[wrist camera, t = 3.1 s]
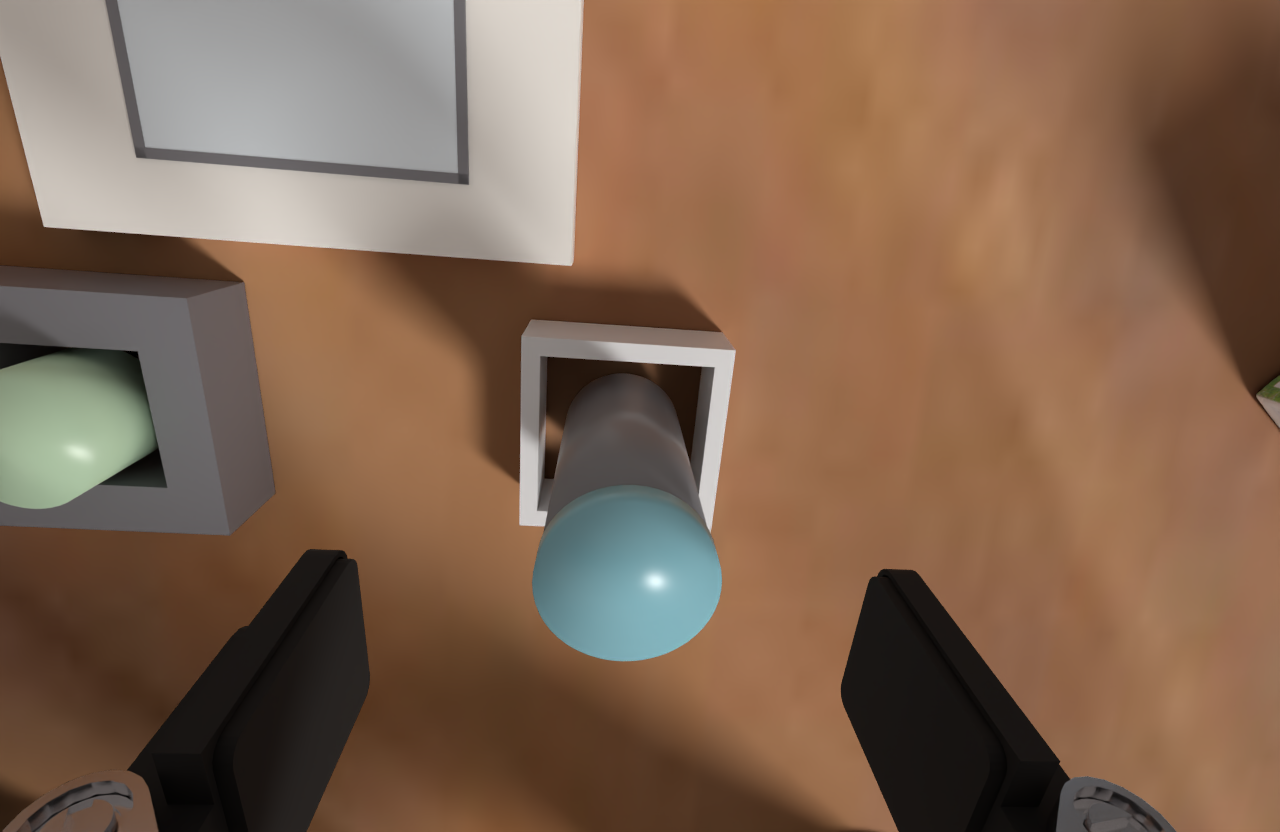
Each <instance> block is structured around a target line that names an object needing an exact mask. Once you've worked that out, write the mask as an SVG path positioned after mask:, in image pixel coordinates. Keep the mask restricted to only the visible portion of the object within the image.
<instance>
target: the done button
mask: <svg viewBox="0 0 1280 832" xmlns="http://www.w3.org/2000/svg"><path fill="white" fill-rule="evenodd" d="M158 448H159V446H158V442H157V437H156V433H155V428H154V424H153V419H152V414H151V410H150V405H149V401H148V396H147V392H146V387H145V382H144V378H143V373H142V369H141V364H140V360H139V359H137V358H136V357H134V356H132V355H130V354H128V353H126V352H124V351H122V350H110V349H93V348H77V347H71V348H67V349H64V350H61V351H58V352H55V353H51V354H48V355H45V356H42V357H39V358H35V359H32V360H29V361H26V362H23V363H19V364H16V365H13V366H10V367H6V368H3V369H0V502H3V503H6V504H9V505H13V506H17V507H22V508H30V509H45V508H52V507H56V506H60V505H63V504H65V503H67V502H69V501H71V500H73V499H74V498H76V497H78V496H79V495H81V494H83V493H84V492H86V491H88V490H89V489H91V488H93V487H94V486H96V485H98V484H100V483H101V482H103V481H105V480H106V479H108V478H110V477H111V476H113V475H115V474H116V473H118V472H120V471H121V470H123V469H125V468H126V467H128V466H130V465H131V464H133V463H135V462H137V461H138V460H140V459H142V458H143V457H145V456H147V455H148V454H150V453H152V452H153V451H155V450H157V449H158Z"/></svg>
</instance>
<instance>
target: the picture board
mask: <svg viewBox="0 0 1280 832" xmlns="http://www.w3.org/2000/svg"><path fill="white" fill-rule="evenodd" d="M583 7H584V0H0V57H1V61H2V65H3V69H4V73H5V77H6V81H7V84H8V88H9V92H10V96H11V100H12V104H13V108H14V112H15V116H16V120H17V124H18V127H19V131H20V135H21V139H22V143H23V147H24V151H25V155H26V159H27V163H28V167H29V170H30V174H31V178H32V182H33V186H34V190H35V194H36V198H37V202H38V206H39V210H40V214H41V217H42V221H43V225H44V227H52V228H66V229H79V230H93V231H106V232H120V233H133V234H147V235H160V236H174V237H187V238H201V239H215V240H228V241H242V242H255V243H269V244H282V245H296V246H309V247H323V248H336V249H350V250H364V251H377V252H391V253H404V254H418V255H431V256H445V257H458V258H472V259H486V260H499V261H513V262H526V263H540V264H553V265H567V266H572V264H573V261H574V239H575V213H576V188H577V162H578V136H579V110H580V85H581V59H582V33H583Z"/></svg>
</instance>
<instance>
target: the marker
mask: <svg viewBox="0 0 1280 832" xmlns="http://www.w3.org/2000/svg"><path fill="white" fill-rule="evenodd" d="M721 585H722V575H721V567H720V563H719V559H718V556H717V552H716V548H715V545H714V541H713V538H712V536H711V533H710V531H709V529H708V527H707V524H706V520H705V517H704V513H703V509H702V506H701V502H700V498H699V495H698V491H697V487H696V484H695V480H694V476H693V473H692V469H691V465H690V462H689V458H688V454H687V450H686V447H685V443H684V439H683V436H682V432H681V428H680V425H679V421H678V417H677V414H676V410H675V408H674V405H673V403H672V401H671V400H670V398H669V396H668V395H667V394H666V393H665V392H664V391H663V390H662V389H661V388H660V387H659V386H658V385H657V384H655V383H654V382H652V381H650V380H648V379H646V378H644V377H641V376H638V375H634V374H626V373H618V374H610V375H606V376H603V377H600V378H598V379H596V380H594V381H592V382H590V383H589V384H587V385H586V386H585V387H583V388H582V389H581V390H580V391H579V392H578V394H577V395H576V396H575V397H574V399H573V401H572V402H571V404H570V407H569V409H568V412H567V416H566V421H565V426H564V431H563V436H562V441H561V446H560V451H559V456H558V462H557V467H556V472H555V477H554V482H553V487H552V492H551V497H550V502H549V507H548V512H547V517H546V522H545V528H544V533H543V536H542V538H541V540H540V544H539V547H538V551H537V556H536V561H535V566H534V571H533V581H532V586H533V595H534V600H535V604H536V606H537V609H538V612H539V614H540V615H541V617H542V619H543V621H544V622H545V624H546V625H547V626H548V627H549V629H550V630H551V631H552V632H553V633H554V634H555V635H556V636H557V637H558V638H559V639H561V640H562V641H563V642H565V643H566V644H567V645H569V646H571V647H572V648H574V649H576V650H578V651H580V652H582V653H585V654H587V655H590V656H593V657H597V658H601V659H606V660H614V661H636V660H645V659H649V658H653V657H657V656H660V655H663V654H666V653H668V652H670V651H672V650H675V649H677V648H678V647H680V646H682V645H683V644H685V643H687V642H688V641H689V640H690V639H692V638H693V637H694V636H695V635H697V633H698V632H699V631H700V630H701V629H702V628H703V627H704V626H705V625H706V623H707V622H708V621H709V619H710V618H711V616H712V614H713V613H714V611H715V609H716V606H717V604H718V601H719V597H720V593H721Z"/></svg>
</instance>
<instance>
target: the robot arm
mask: <svg viewBox="0 0 1280 832" xmlns="http://www.w3.org/2000/svg"><path fill="white" fill-rule="evenodd" d="M369 682H370V672H369V663H368V654H367V646H366V637H365V628H364V620H363V611H362V602H361V593H360V585H359V576H358V567H357V563H356V561H355V560H354V559H347V555H346V553H345V552H344V551H342V550H317V549H310V550H307V551H306V552H305V553H304V554H303V555H302V557H301V558H300V559H299V561H298V562H297V563H296V564H295V566H294V567H293V568H292V570H291V571H290V572H289V574H288V575H287V576H286V578H285V579H284V580H283V581H282V583H281V584H280V585H279V587H278V588H277V589H276V591H275V592H274V593H273V595H272V596H271V597H270V599H269V600H268V601H267V602H266V604H265V605H264V606H263V608H262V609H261V610H260V612H259V613H258V614H257V616H256V617H255V618H254V619H253V621H252V622H251V623H250V625H249V626H245V627H243V628H240V629H239V630H238V631H237V632H236V633H235V634H234V635H233V636H232V637H231V638H230V639H229V641H228V642H227V643H226V644H225V646H224V647H223V648H222V649H221V651H220V652H219V653H218V655H217V656H216V657H215V658H214V660H213V661H212V662H211V664H210V665H209V666H208V667H207V669H206V670H205V671H204V673H203V674H202V675H201V676H200V678H199V679H198V680H197V681H196V683H195V684H194V685H193V687H192V688H191V689H190V690H189V692H188V693H187V694H186V696H185V697H184V698H183V699H182V701H181V702H180V703H179V705H178V706H177V707H176V708H175V710H174V711H173V712H172V713H171V715H170V716H169V717H168V719H167V720H166V721H165V722H164V724H163V725H162V726H161V728H160V729H159V730H158V731H157V733H156V734H155V735H154V736H153V738H152V739H151V740H150V742H149V743H148V744H147V745H146V747H145V748H144V749H143V751H142V752H141V753H140V754H139V756H138V757H137V758H136V760H135V761H134V762H133V763H132V765H131V766H130V767H129V768H128V770H127V771H123V770H108V771H102V772H96V773H91V774H88V775H85V776H82V777H80V778H77V779H74V780H71V781H68V782H66V783H65V784H63V785H61V786H59V787H57V788H55V789H53V790H52V791H50V792H48V793H46V794H44V795H43V796H41V797H40V798H39V799H37V800H36V801H35V802H33V803H32V804H31V805H29V806H28V807H26V808H25V809H24V810H22V811H21V812H20V813H19V814H18V815H17V816H16V817H15V818H14V819H13V820H12V821H11V822H10V823H9V824H8V825H7V826H6V827H5V828H4V830H3V831H2V832H306V831H307V829H308V827H309V825H310V822H311V820H312V818H313V816H314V813H315V811H316V809H317V807H318V804H319V802H320V800H321V798H322V795H323V793H324V791H325V789H326V786H327V784H328V782H329V780H330V777H331V775H332V773H333V771H334V768H335V766H336V764H337V762H338V759H339V757H340V755H341V753H342V750H343V748H344V746H345V744H346V741H347V739H348V737H349V735H350V732H351V730H352V728H353V726H354V723H355V721H356V719H357V716H358V714H359V712H360V710H361V707H362V705H363V703H364V701H365V698H366V696H367V692H368V689H369ZM841 697H842V702H843V705H844V708H845V710H846V712H847V715H848V717H849V719H850V721H851V724H852V726H853V728H854V731H855V733H856V735H857V737H858V740H859V742H860V744H861V747H862V749H863V751H864V753H865V756H866V758H867V760H868V763H869V765H870V767H871V769H872V772H873V774H874V776H875V779H876V781H877V783H878V785H879V788H880V790H881V792H882V795H883V797H884V799H885V801H886V804H887V806H888V808H889V811H890V813H891V815H892V817H893V820H894V822H895V824H896V827H897V829H898V831H899V832H1176V831H1175V829H1174V828H1173V827H1172V826H1171V825H1170V824H1169V823H1168V822H1167V820H1166V819H1165V818H1164V817H1163V816H1162V815H1161V814H1160V813H1159V812H1158V811H1156V810H1155V809H1154V808H1153V807H1151V806H1150V805H1149V804H1148V803H1146V802H1145V801H1144V800H1143V799H1141V798H1140V797H1138V796H1136V795H1135V794H1133V793H1131V792H1130V791H1128V790H1126V789H1125V788H1123V787H1121V786H1118V785H1116V784H1113V783H1111V782H1108V781H1106V780H1103V779H1098V778H1093V777H1088V776H1087V777H1075V778H1072V779H1071V780H1070V778H1069V777H1068V776H1067V774H1066V773H1065V772H1064V770H1063V769H1062V768H1061V766H1060V765H1059V763H1060V761H1059V759H1058V758H1057V757H1056V755H1055V754H1054V753H1053V751H1052V750H1051V749H1050V747H1049V746H1048V745H1047V743H1046V742H1045V741H1044V739H1043V738H1042V737H1041V735H1040V734H1039V733H1038V732H1037V730H1036V729H1035V728H1034V726H1033V725H1032V724H1031V722H1030V721H1029V720H1028V718H1027V717H1026V716H1025V714H1024V713H1023V712H1022V710H1021V709H1020V708H1019V706H1018V705H1017V704H1016V702H1015V701H1014V700H1013V698H1012V697H1011V696H1010V694H1009V693H1008V692H1007V691H1006V689H1005V688H1004V687H1003V685H1002V684H1001V683H1000V681H999V680H998V679H997V677H996V676H995V675H994V673H993V672H992V671H991V669H990V668H989V667H988V665H987V664H986V663H985V661H984V660H983V659H982V657H981V656H980V655H979V654H978V652H977V651H976V650H975V648H974V647H973V646H972V644H971V643H970V642H969V640H968V639H967V638H966V636H965V635H964V634H963V632H962V631H961V630H960V628H959V627H958V626H957V624H956V623H955V622H954V620H953V619H952V618H951V616H950V615H949V614H948V613H947V611H946V610H945V609H944V607H943V606H942V605H941V603H940V602H939V601H938V599H937V598H936V597H935V595H934V594H933V593H932V591H931V590H930V589H929V587H928V586H927V585H926V583H925V582H924V581H923V579H922V578H921V577H920V576H919V574H918V573H917V572H916V571H913V570H897V569H883V570H881V571H880V572H879V573H878V576H877V577H872V578H871V579H870V580H869V583H868V586H867V590H866V594H865V598H864V601H863V605H862V609H861V613H860V616H859V620H858V624H857V627H856V631H855V635H854V639H853V642H852V646H851V650H850V653H849V657H848V661H847V665H846V668H845V672H844V676H843V679H842V684H841Z"/></svg>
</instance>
